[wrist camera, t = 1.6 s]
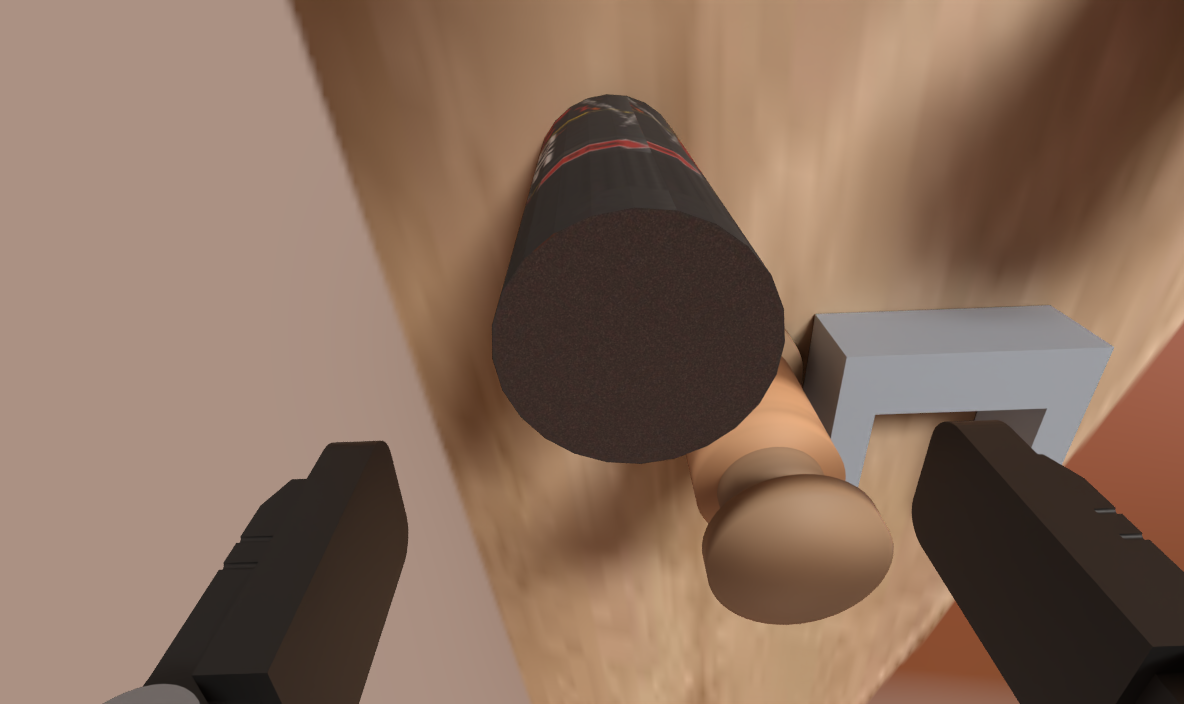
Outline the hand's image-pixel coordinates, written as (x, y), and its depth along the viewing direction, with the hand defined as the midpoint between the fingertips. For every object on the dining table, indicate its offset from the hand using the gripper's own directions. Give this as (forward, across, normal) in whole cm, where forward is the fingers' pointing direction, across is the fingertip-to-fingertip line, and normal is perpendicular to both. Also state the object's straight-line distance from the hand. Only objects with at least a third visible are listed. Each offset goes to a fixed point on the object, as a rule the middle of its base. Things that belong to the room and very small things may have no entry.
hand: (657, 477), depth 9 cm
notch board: (+19, -15, +11) cm, 27 cm away
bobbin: (+19, -6, +10) cm, 22 cm away
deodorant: (+19, 0, 0) cm, 19 cm away
